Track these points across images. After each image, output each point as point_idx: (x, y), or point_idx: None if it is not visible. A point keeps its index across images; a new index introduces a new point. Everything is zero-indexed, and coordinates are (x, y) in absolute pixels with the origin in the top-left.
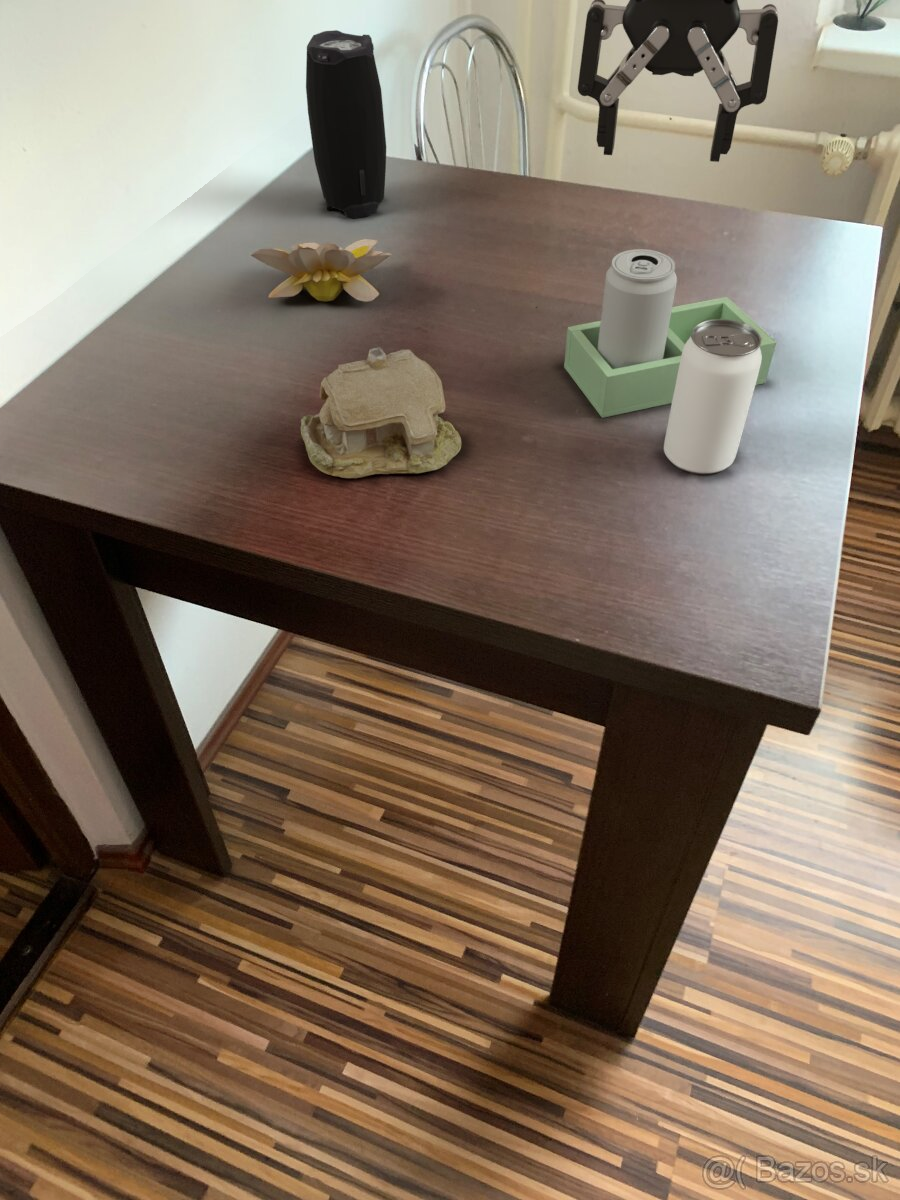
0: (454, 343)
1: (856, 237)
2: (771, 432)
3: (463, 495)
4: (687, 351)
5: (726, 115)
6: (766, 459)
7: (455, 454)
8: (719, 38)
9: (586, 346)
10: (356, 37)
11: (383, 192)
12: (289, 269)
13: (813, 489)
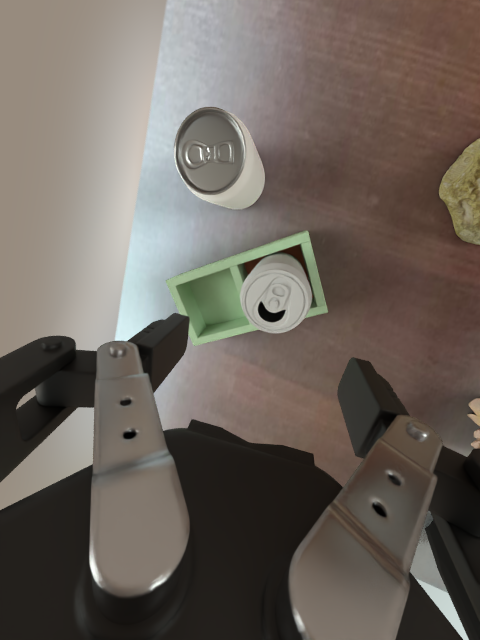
0: (407, 339)
1: None
2: (183, 212)
3: (455, 105)
4: (250, 149)
5: (139, 341)
6: None
7: (450, 167)
8: (53, 507)
9: (317, 280)
10: None
11: (431, 531)
12: None
13: (162, 136)
